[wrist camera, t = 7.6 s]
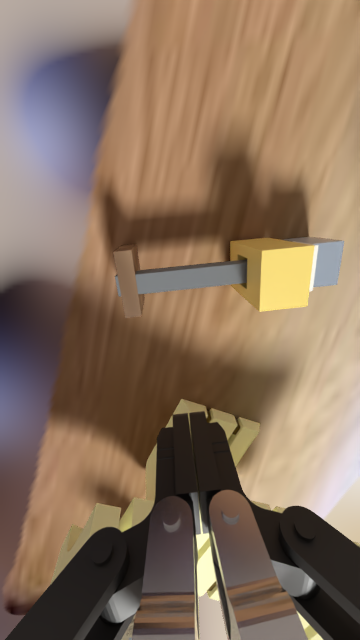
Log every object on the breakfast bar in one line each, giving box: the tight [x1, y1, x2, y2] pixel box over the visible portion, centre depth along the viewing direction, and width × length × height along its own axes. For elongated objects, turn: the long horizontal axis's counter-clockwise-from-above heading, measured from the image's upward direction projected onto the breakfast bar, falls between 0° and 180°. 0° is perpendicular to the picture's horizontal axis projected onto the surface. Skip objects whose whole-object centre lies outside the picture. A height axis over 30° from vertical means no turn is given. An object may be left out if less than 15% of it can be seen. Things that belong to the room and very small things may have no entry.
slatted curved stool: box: [50, 399, 360, 640], centre depth 30 cm, size 30×16×18 cm, turn 65°
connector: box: [282, 237, 344, 287], centre depth 25 cm, size 3×4×6 cm
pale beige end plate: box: [292, 241, 318, 291], centre depth 23 cm, size 1×4×4 cm, turn 4°
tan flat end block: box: [113, 244, 144, 318], centre depth 24 cm, size 2×6×6 cm, turn 5°
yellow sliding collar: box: [230, 238, 315, 312], centre depth 23 cm, size 4×5×8 cm
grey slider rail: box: [115, 259, 247, 296], centre depth 23 cm, size 20×2×2 cm, turn 95°
